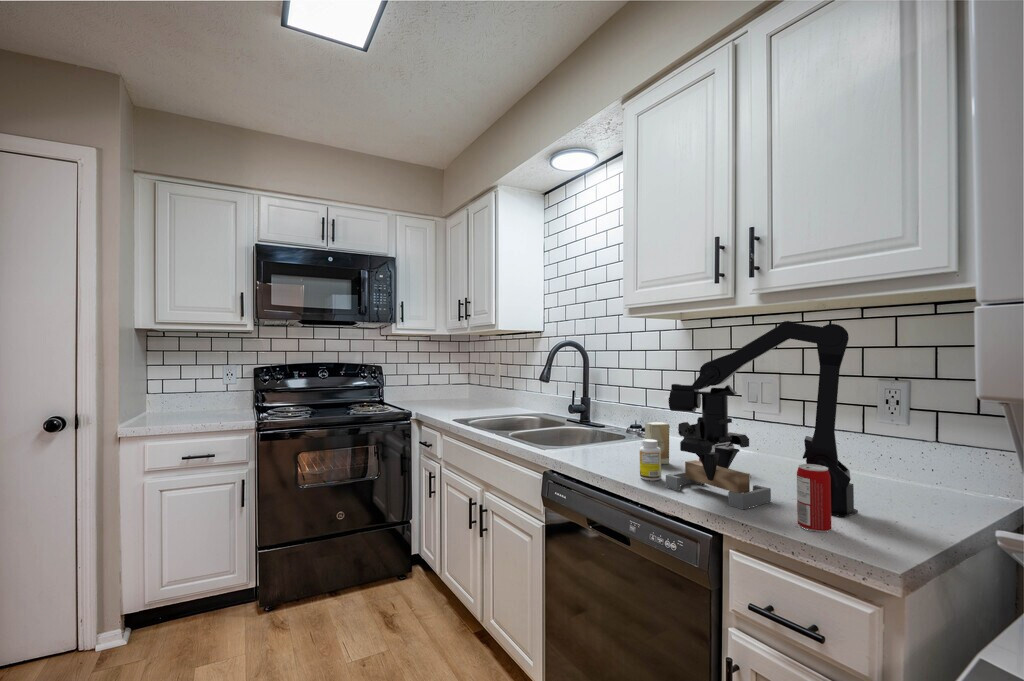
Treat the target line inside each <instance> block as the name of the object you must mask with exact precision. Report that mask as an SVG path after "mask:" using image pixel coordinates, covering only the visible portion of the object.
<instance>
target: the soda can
mask: <svg viewBox="0 0 1024 681" xmlns="http://www.w3.org/2000/svg"><path fill="white" fill-rule="evenodd" d="M796 507H797V509H796V510H797V511H796V512H797V513H796V514H797V515H796V516H797V518H796V519H797V525H798V526H799V527H800V526H801V527H803V528H805V529H808V530H811V531H817V532H816V533H819V532H825V533H828V532H829V531H831V530H832V514H831V477H830V474H829V471H828V468H827V467H825V466H821V465H814V464H806V463H802V464H801V463H800V464H798V467H797V470H796ZM801 527H800V528H801ZM803 528H802V529H803ZM805 529H804V530H805ZM808 530H807V531H808ZM811 531H810V532H811ZM827 531H828V532H827Z"/></svg>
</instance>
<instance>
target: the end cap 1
mask: <svg viewBox="0 0 1024 681" xmlns="http://www.w3.org/2000/svg"><path fill="white" fill-rule="evenodd" d="M689 483H690V484H696V483H697V484H696V485H700V484H701V485H700V486H703V485H702V484H704V485H706V484H705V483H701V482H698V481H695V480H692V479H688V478H685V470H684V471H680V472H675V473H671V474H665V488H667V487H669V488H668V489H671V488H672V490H675V491H680V490H681V486H685V485H684V484H686V485H690V484H689ZM680 485H681V486H680Z"/></svg>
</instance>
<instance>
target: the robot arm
mask: <svg viewBox="0 0 1024 681" xmlns="http://www.w3.org/2000/svg"><path fill="white" fill-rule="evenodd" d="M849 339H850V338H849V333H848V331H847V329H846V328H844V326H843V325H842V326H841V325H840V324H835V323H828V324H825V325H823V326H817V325H811V324H803V323H797V322H793V321H790V320H784V321H782V322H780V323H779V324H778V325H777V326H775V327H774V328H772V329H771V330H768V331H767V332H765V333H764V334H762V335H760V336H758V337H756V338H755V339H753V340H752V341H750V342H748V343H746V344H745V345H743V346H742V347H740V348H739V349H737V350H735V351H733V352H732V353H729V354H726V355H723V356H720V357H717V358H715V359H712V360H710V361H707V362H705V363H703V364H702V365H701V366H700V368H699V376H698V377H697V378H696V379H695V381H694V382H693V383H692V384H680V383H679V384H678V383H672V384H671V386H670V388H671V389H670V393H669V397H668V407H669V410H670V412H682V413H683V412H685V413H695V412H696V411H697V409H700V408H701V416H699V417H698V418H697V422H696V423H693V424H690V423H689V422H688V421H685V422H680V423H678V427H677V430H678V436H680V437H683V439H682V440H681V441H680V442H679V448H680V449H679V450H680V451H681V452H686V453H689V454H690V453H691V454H695V455H696V456H697V457H698V459H699V458H700V460H701V462H702V465H703V467H704V470H705V473H706V476H707V478H708V480H710V481H713V478H714V475H715V471H716V467H717V466H720V467H724V468H727V469H730V466H731V465H732V463H733V461H734V459H735V458H736V456H737V454H738V452H739V453H740V451H741V450H740V449H739V448H735V445H737V446H739V447H740V448H743V449H744V448H748V447H750V438H749V437H748V435H746V434H744V433H737V432H729V424H731V423H733V418H732V417H731V418H730V417H729V414H728V413H729V409H728V408H729V405H728V404H729V402H728V396H730V397H731V396H733V397H734V396H736V395H737V394H738V393H737V391H736V390H734V389H733V388H732V387H731V385H730V384H726V385H725V387H716V386H718V385H721V384H724V383H725V382H727V381H728V380H729V379H731V377H733V376H734V375H735V374H736V373H737V372H738V371H740V370H741V369H742V368H743V367H745V365H747V364H749V363H750V362H753V361H754V360H756V359H757V358H760V357H761V356H763V355H765V354H767V353H768V352H770V351H771V350H774V349H775V348H776V347H778V346H780V345H782V344H784V343H785V342H787V341H789V340H795V341H800V342H807V343H812V344H816V346H817V348H816V349H817V356H818V363H819V373H818V374H819V377H818V389H817V399H816V400H817V402H816V412H815V425H814V432H813V435H812V436H808V435H805V437H804V449H805V450H804V452H803V455H802V459H804V460H805V464H814V465H821V466H825V467H827V468H828V471H829V474H830V477H831V516H836V517H840V518H845V517H848V516H851V515H854V514H856V513H857V514H858V512H859V511H858V509H856V508H855V499H854V496H855V495H854V491H855V490H854V483H850V482H851V471H850V469H849V468H848V467H847V466H846V465H845V464H843V463H842V462H841V461H840V460H839V456H838V446H837V440H836V432H835V429H836V418H837V406H838V394H839V393H838V392H839V384H840V383H839V380H840V372H841V371H840V370H841V366H842V362H843V359H844V356H845V354H846V353H845V352H846V349H847V346H848V343H849ZM712 386H715V387H712ZM710 387H711V388H710ZM707 388H710V391H701V390H702V389H707Z"/></svg>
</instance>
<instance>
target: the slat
mask: <svg viewBox="0 0 1024 681" xmlns="http://www.w3.org/2000/svg"><path fill="white" fill-rule="evenodd" d="M684 464H685V465H684V468H685V469H684V471H685V478H688V479H692V480H695V481H698V482H701V483H705V484H704V485H709V486H712V487H715V488H718V489H722V490H725V491H727V492H729V491H734V492H738V493H746V492H750V491H751V489H750V482H751V481H750V473H746V472H744V471H738V470H734V469H731V468H728V469H727V468H724V467H720V466H717V467H716V471H715V475H714V478H713V481H710V480H708V478H707V476H706V473H705V470H704V467H703V465H702V462H700V461H699V460H687V461H685V463H684Z"/></svg>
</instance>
